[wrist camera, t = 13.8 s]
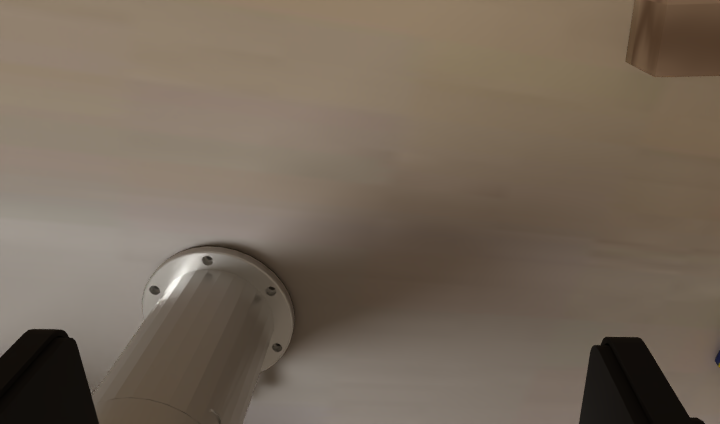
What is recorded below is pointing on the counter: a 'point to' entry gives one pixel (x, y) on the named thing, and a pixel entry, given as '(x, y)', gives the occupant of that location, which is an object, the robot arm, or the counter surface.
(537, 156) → the counter surface
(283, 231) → the counter surface
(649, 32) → the socket block
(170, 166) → the counter surface
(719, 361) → the supplement box
